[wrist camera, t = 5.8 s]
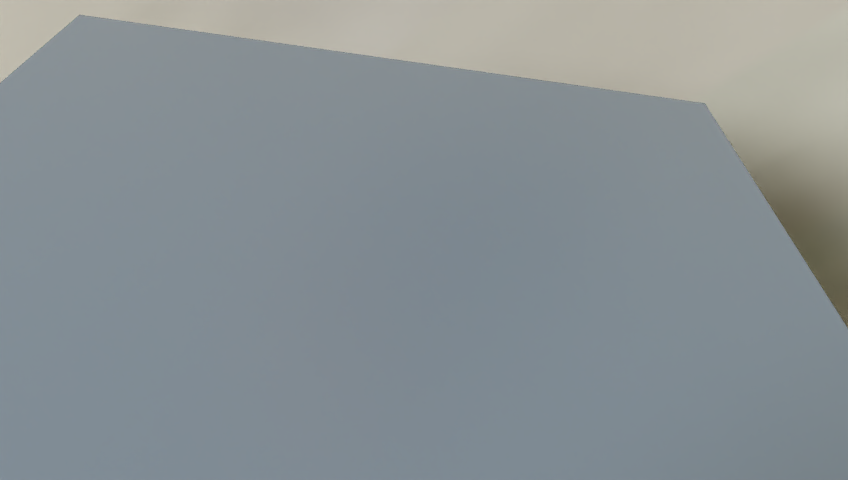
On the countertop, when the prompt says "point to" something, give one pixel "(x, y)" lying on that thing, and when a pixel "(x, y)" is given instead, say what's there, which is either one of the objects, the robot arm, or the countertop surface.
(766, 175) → the countertop surface
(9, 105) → the grey-blue cube
